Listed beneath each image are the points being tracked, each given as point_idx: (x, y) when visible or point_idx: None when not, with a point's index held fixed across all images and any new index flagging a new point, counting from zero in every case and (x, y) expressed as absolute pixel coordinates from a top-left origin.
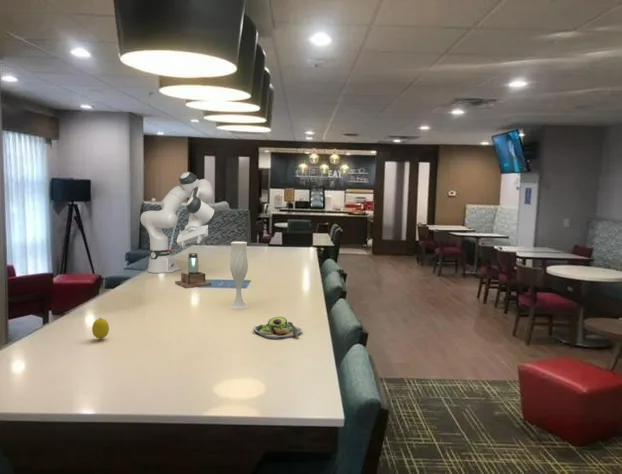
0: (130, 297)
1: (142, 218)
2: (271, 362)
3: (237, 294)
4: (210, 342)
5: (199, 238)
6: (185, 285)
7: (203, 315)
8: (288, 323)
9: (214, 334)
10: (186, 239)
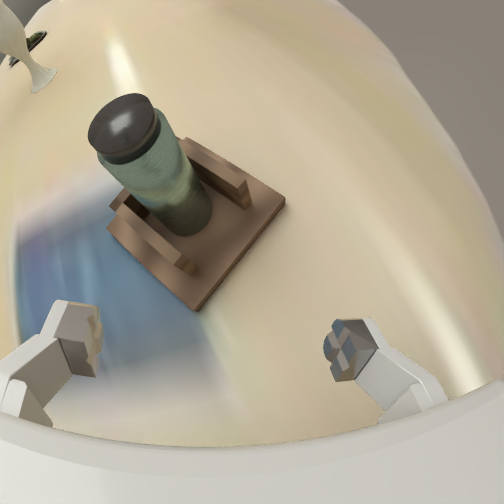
0: (287, 24)
1: None
2: (49, 14)
3: (34, 62)
4: (85, 2)
5: (13, 360)
6: (190, 139)
7: (94, 27)
8: (12, 61)
9: (81, 10)
10: (369, 428)
